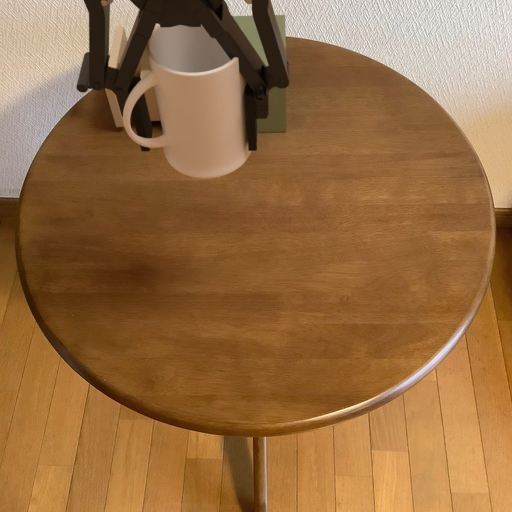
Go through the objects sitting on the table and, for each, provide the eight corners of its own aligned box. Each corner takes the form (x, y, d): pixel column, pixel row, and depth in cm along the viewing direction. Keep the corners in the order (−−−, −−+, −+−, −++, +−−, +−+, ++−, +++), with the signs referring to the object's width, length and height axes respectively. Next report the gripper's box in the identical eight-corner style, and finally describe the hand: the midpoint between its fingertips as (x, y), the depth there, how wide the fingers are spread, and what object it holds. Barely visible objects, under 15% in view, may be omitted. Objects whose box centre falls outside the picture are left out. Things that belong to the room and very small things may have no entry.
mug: (153, 206, 57) (129, 105, 47) (119, 145, 61) (89, 42, 51) (268, 158, 60) (267, 54, 50) (227, 103, 64) (219, -2, 54)
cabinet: (178, 133, 93) (168, 81, 84) (184, 70, 100) (176, 17, 92) (286, 132, 92) (286, 78, 84) (284, 68, 100) (285, 14, 92)
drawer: (82, 127, 93) (67, 85, 86) (95, 70, 100) (82, 27, 93) (215, 125, 92) (210, 82, 85) (219, 67, 99) (215, 24, 92)
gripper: (-19, -71, 39) (77, 171, 58) (336, -78, 38) (318, 170, 57) (10, -131, 43) (91, 113, 62) (331, -138, 43) (315, 111, 61)
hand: (199, 140), depth 60 cm, fingers closed on mug, 9 cm apart
